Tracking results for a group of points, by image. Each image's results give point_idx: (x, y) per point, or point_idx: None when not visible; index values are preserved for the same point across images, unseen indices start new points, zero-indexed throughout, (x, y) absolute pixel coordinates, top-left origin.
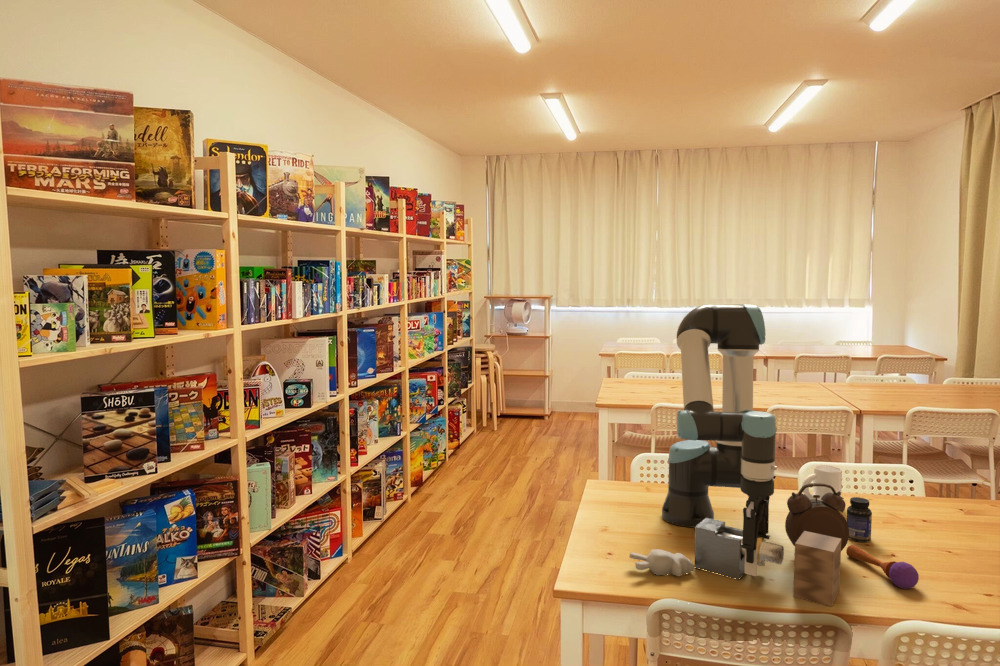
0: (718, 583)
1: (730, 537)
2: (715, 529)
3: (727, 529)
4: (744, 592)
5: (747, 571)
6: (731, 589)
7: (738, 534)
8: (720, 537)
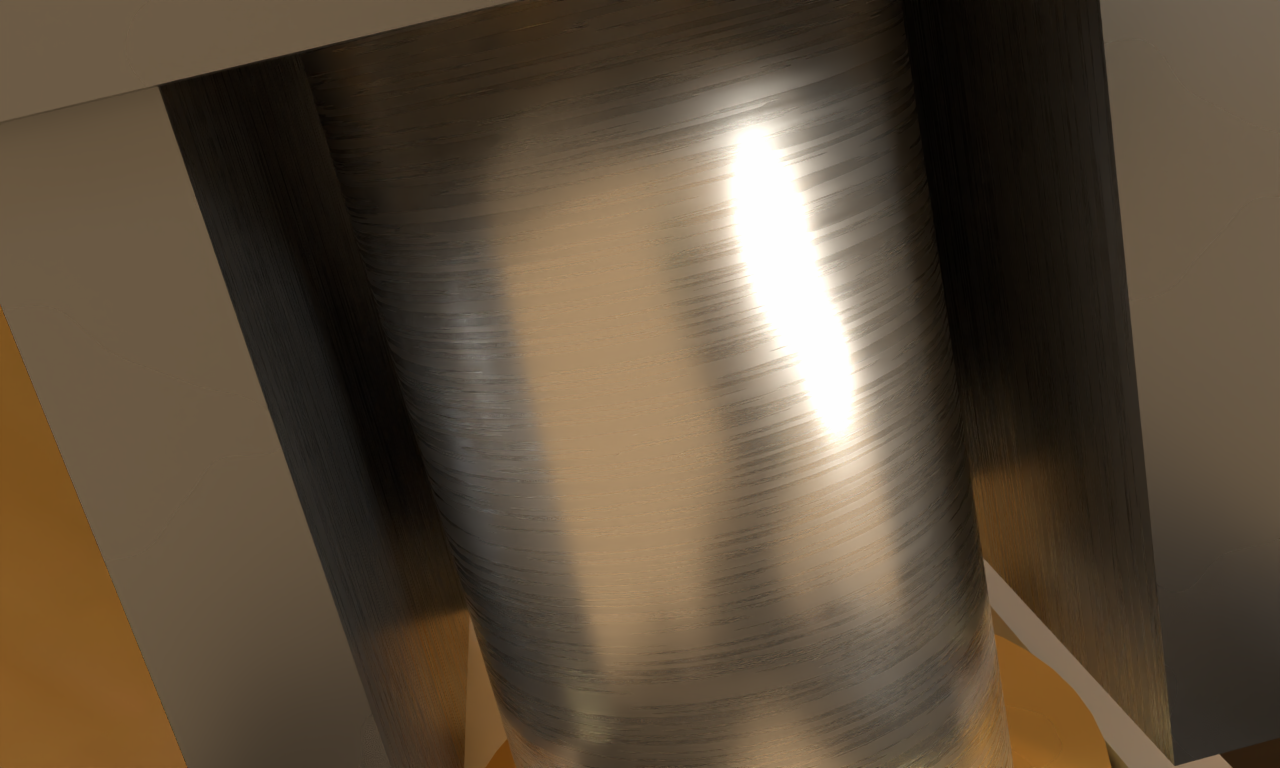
0: (8, 331)
1: (311, 652)
2: (82, 20)
3: (1070, 50)
4: (110, 739)
5: None
6: (18, 577)
7: (1078, 423)
8: (39, 367)
